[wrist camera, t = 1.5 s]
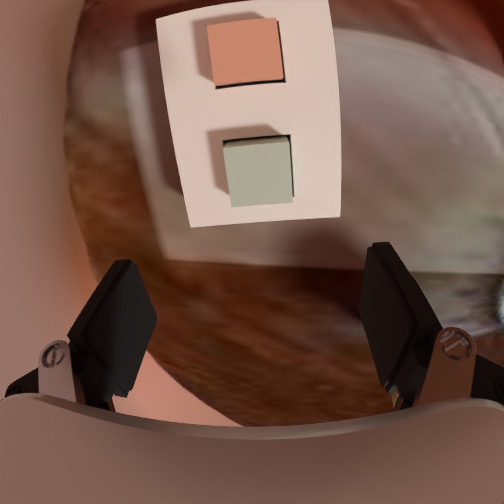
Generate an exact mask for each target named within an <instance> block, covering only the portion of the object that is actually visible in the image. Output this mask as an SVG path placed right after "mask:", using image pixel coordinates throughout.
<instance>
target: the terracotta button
mask: <svg viewBox="0 0 504 504" xmlns="http://www.w3.org/2000/svg"><path fill="white" fill-rule="evenodd" d="M207 33H208V41H209V49H210V57H211V65H212V73H213V80H214V85H217V86H225V85H233V84H241V83H250V82H261V81H275V80H282V79H283V68H282V59H281V51H280V43H279V35H278V27H277V20H276V18H263V19H251V20H242V21H234V22H226V23H220V24H214V25H208V26H207Z"/></svg>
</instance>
